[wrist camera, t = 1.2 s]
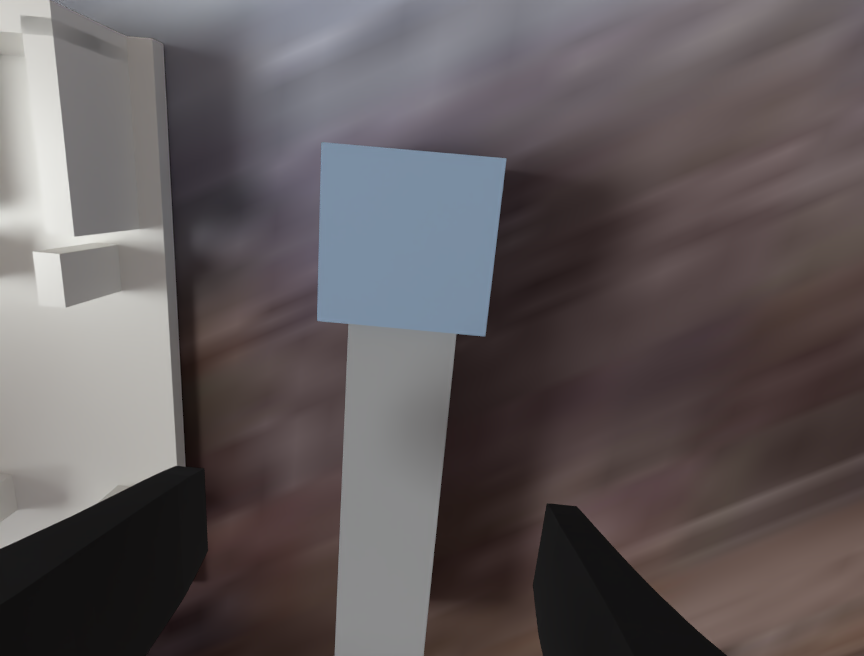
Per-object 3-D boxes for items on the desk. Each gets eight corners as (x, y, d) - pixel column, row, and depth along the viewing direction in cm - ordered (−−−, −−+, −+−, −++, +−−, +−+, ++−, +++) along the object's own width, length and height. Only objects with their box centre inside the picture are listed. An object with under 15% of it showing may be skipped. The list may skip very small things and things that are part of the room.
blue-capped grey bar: (443, 601, 21) (441, 707, 17) (337, 590, 21) (308, 693, 17) (492, 167, 16) (506, 158, 12) (356, 155, 16) (321, 142, 12)
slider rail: (191, 581, 21) (140, 657, 18) (-15, 560, 21) (-106, 631, 18) (163, 44, 16) (81, 2, 12) (-114, 20, 16) (-272, -27, 12)
